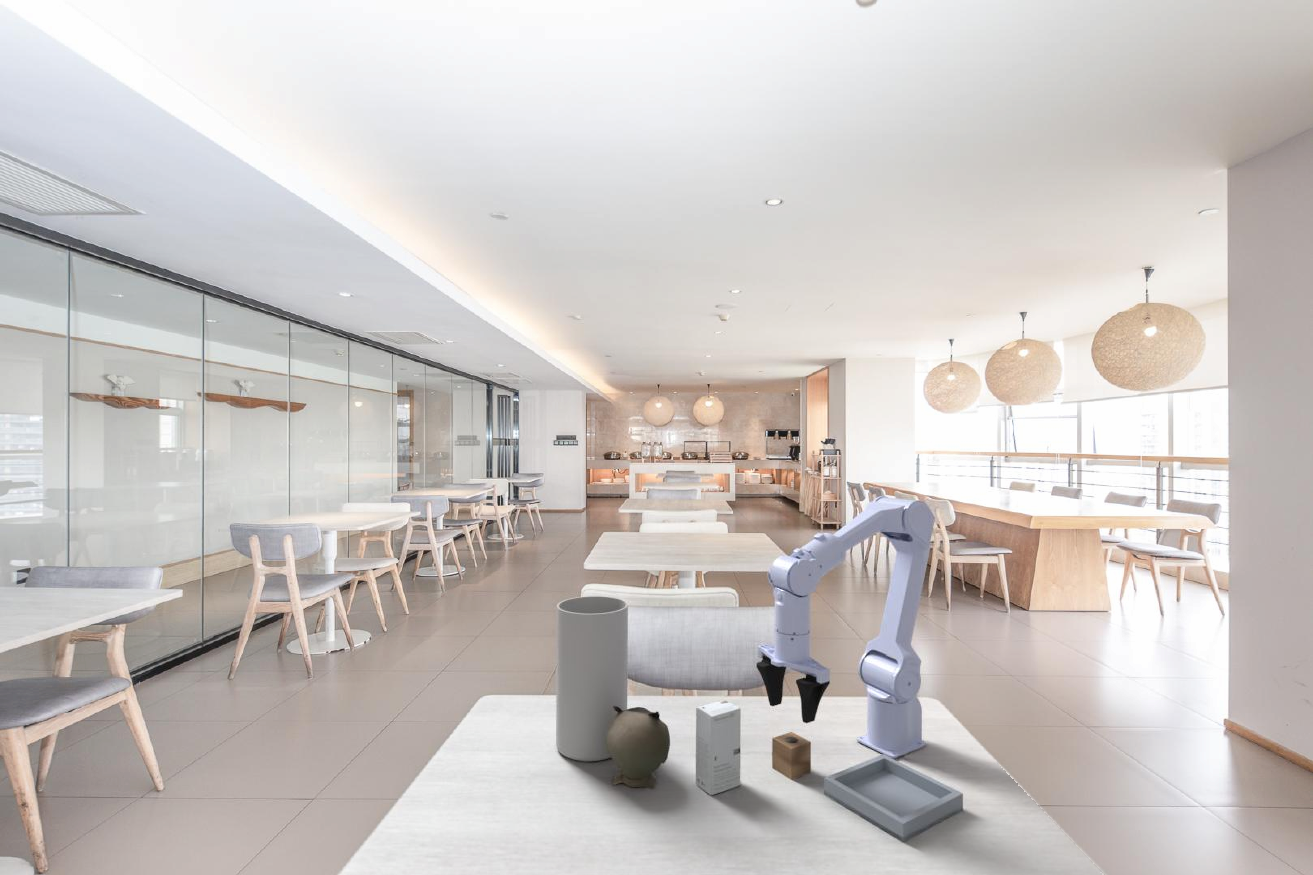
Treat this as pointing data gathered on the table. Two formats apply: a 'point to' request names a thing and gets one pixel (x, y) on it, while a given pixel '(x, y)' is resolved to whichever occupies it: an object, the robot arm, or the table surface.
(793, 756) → the walnut block
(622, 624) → the cylinder vase
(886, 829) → the slate tray
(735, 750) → the skincare box
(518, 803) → the table surface
